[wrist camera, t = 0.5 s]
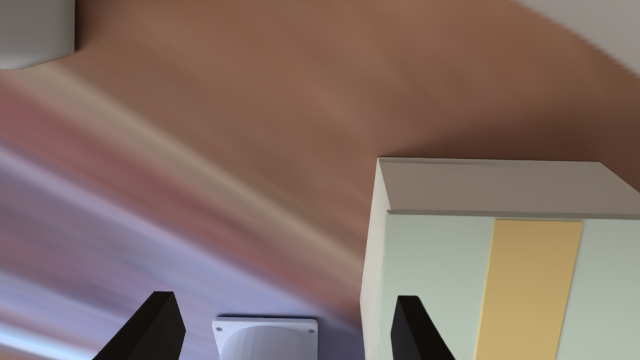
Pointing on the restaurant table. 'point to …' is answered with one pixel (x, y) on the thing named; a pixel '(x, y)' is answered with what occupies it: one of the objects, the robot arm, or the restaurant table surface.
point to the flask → (35, 31)
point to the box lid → (517, 283)
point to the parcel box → (481, 202)
